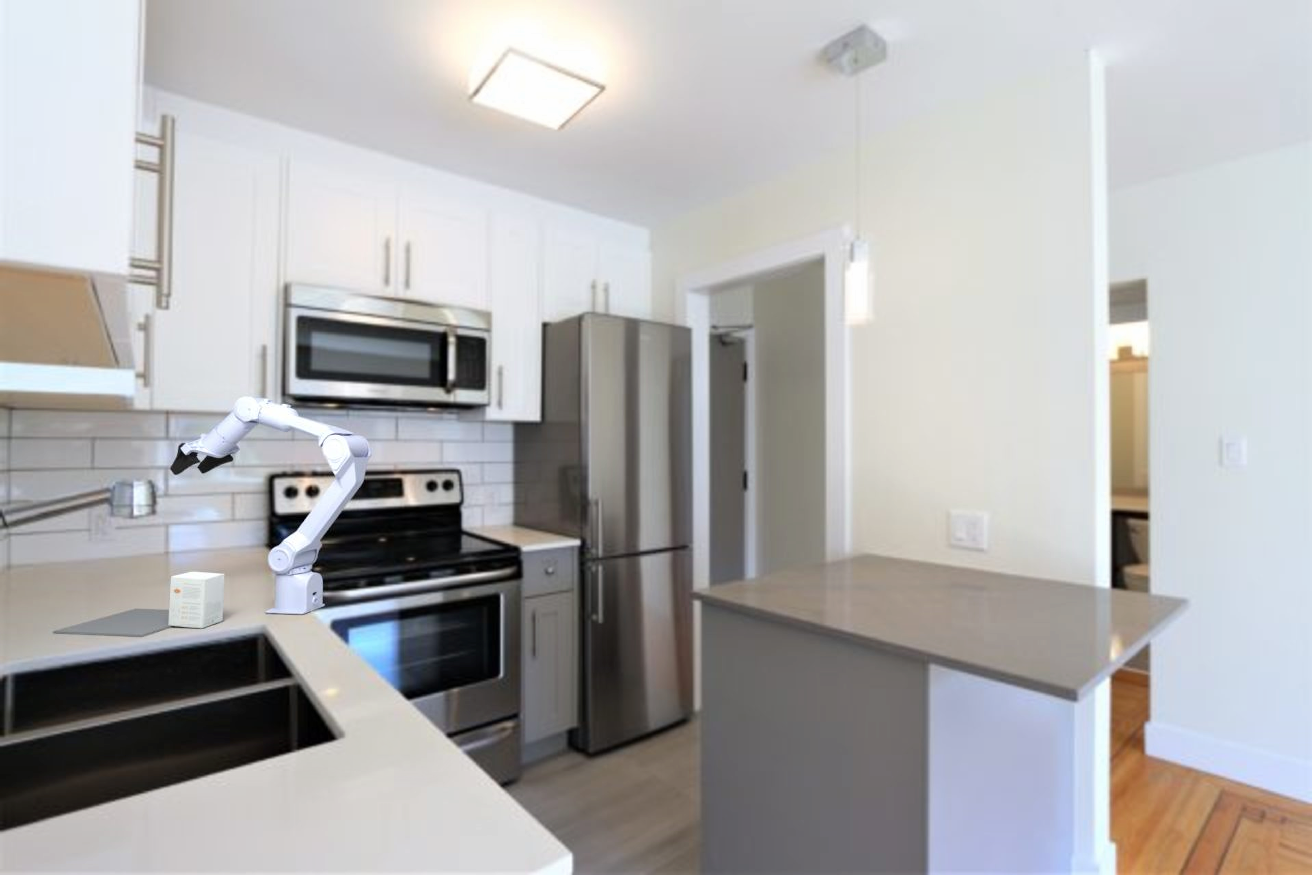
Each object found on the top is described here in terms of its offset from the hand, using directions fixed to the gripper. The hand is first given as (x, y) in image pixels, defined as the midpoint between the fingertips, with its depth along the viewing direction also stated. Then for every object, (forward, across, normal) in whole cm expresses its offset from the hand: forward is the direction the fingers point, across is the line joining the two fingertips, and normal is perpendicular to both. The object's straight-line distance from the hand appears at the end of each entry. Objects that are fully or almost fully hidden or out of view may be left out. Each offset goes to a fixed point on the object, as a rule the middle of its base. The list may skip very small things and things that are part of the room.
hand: (187, 471), depth 149 cm
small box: (+9, +14, +35) cm, 38 cm away
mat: (+20, +14, +26) cm, 35 cm away
